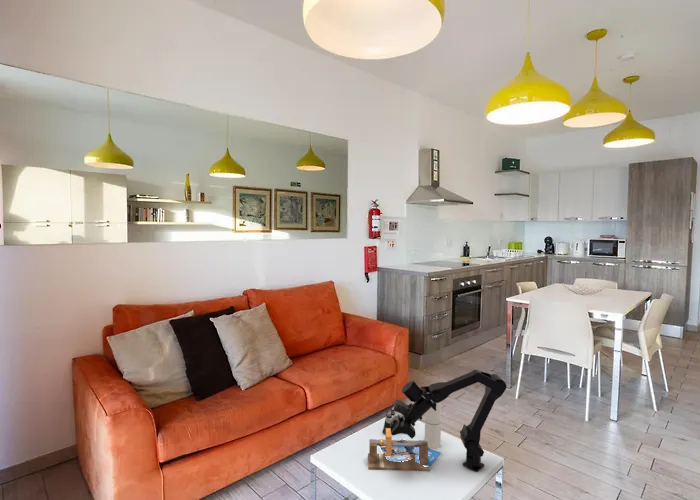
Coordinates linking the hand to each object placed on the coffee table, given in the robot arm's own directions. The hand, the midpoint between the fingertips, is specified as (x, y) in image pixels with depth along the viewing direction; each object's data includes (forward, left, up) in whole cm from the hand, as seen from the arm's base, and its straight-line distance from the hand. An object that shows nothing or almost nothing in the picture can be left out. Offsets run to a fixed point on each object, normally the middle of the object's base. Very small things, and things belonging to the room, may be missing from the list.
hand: (391, 434), depth 160 cm
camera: (-23, -16, -13) cm, 30 cm away
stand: (-2, +2, -12) cm, 13 cm away
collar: (+1, -1, -7) cm, 7 cm away
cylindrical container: (-25, +3, -12) cm, 28 cm away
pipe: (-2, +2, -5) cm, 6 cm away
